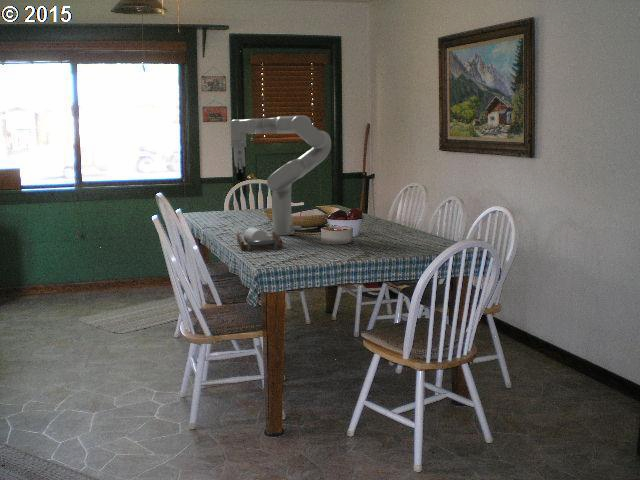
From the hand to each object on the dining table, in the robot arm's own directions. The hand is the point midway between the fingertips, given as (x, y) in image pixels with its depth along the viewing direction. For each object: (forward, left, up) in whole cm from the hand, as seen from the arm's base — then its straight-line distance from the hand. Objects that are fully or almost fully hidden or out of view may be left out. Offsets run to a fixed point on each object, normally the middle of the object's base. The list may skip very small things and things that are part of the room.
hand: (239, 180), depth 392 cm
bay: (-5, +40, -27) cm, 48 cm away
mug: (-5, +39, -27) cm, 48 cm away
